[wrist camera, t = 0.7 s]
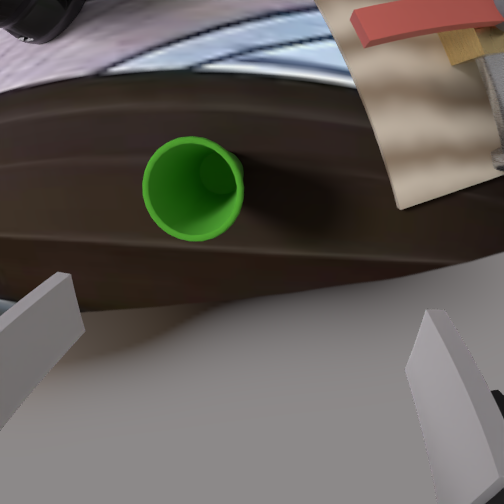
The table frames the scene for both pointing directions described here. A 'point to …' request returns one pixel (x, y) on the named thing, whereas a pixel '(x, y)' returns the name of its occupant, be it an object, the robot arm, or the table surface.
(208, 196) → the cup
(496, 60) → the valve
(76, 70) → the table surface
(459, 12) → the lever
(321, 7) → the board
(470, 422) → the robot arm
